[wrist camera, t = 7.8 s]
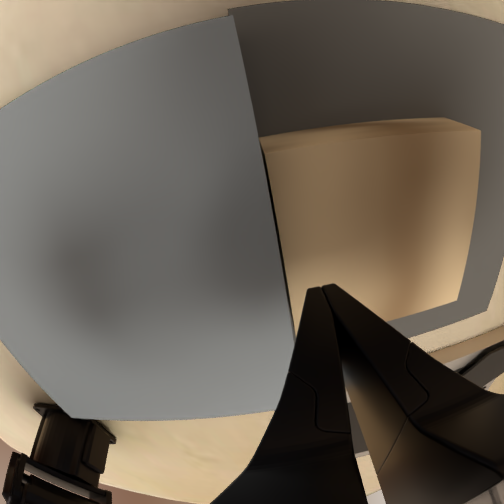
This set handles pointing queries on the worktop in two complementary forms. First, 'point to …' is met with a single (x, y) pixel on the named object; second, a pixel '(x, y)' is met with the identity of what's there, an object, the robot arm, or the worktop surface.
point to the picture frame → (461, 361)
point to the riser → (143, 235)
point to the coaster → (375, 210)
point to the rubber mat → (387, 97)
